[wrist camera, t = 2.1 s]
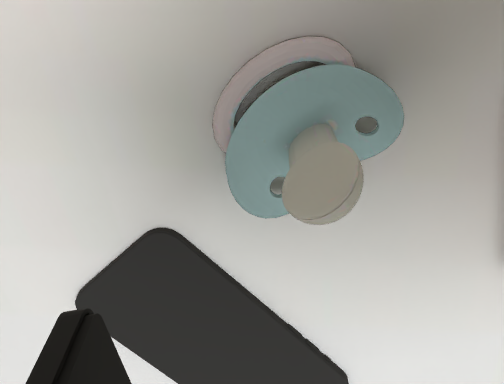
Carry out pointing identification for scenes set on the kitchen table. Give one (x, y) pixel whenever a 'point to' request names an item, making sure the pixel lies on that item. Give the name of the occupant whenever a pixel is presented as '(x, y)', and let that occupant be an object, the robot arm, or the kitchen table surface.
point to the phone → (198, 319)
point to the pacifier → (304, 131)
